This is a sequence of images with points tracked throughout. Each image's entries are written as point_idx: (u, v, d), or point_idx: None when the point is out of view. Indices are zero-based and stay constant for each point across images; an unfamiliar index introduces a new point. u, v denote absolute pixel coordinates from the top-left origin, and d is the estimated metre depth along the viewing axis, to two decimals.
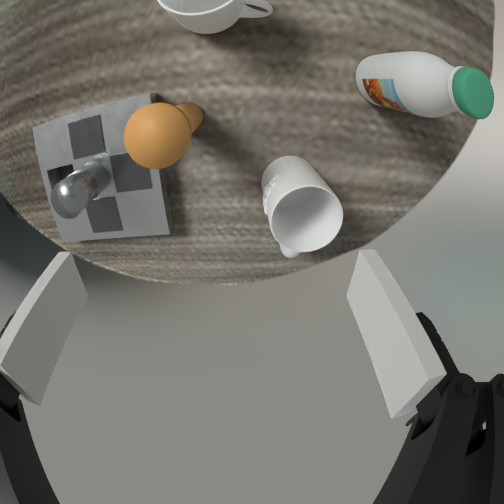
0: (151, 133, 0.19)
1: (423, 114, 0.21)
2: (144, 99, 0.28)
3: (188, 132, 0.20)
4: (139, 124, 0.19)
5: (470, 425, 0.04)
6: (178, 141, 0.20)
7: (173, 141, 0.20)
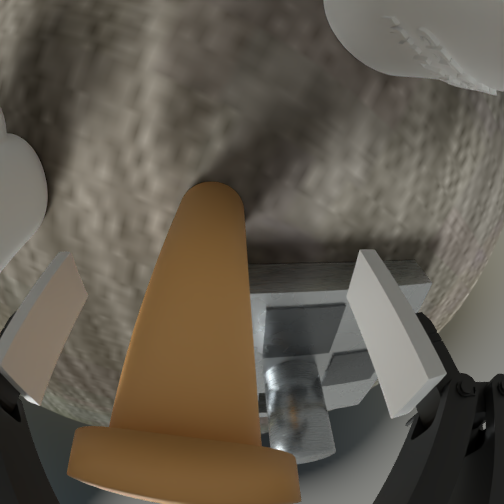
0: (173, 503, 0.04)
1: None
2: None
3: (147, 491, 0.03)
4: (150, 500, 0.05)
5: (470, 425, 0.04)
6: (196, 502, 0.03)
7: (197, 503, 0.03)
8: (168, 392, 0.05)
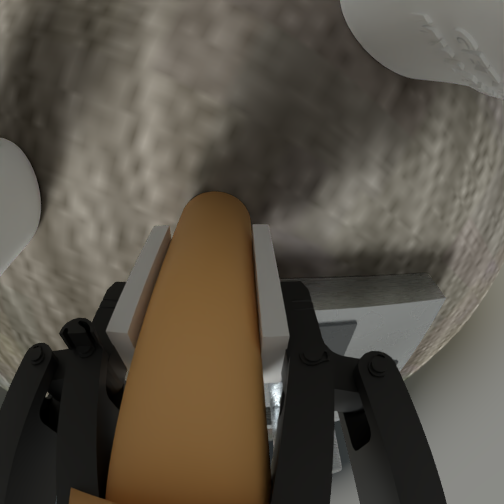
0: None
1: None
2: None
3: None
4: None
5: (331, 394, 0.06)
6: None
7: None
8: (171, 458, 0.04)
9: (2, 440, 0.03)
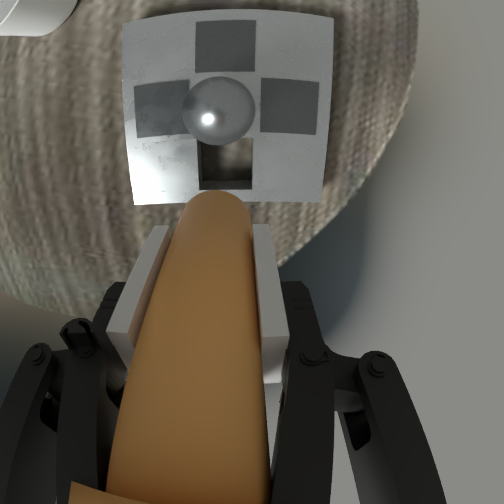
0: None
1: None
2: (128, 28, 0.17)
3: None
4: None
5: (331, 394, 0.06)
6: None
7: None
8: (171, 450, 0.04)
9: (2, 440, 0.03)
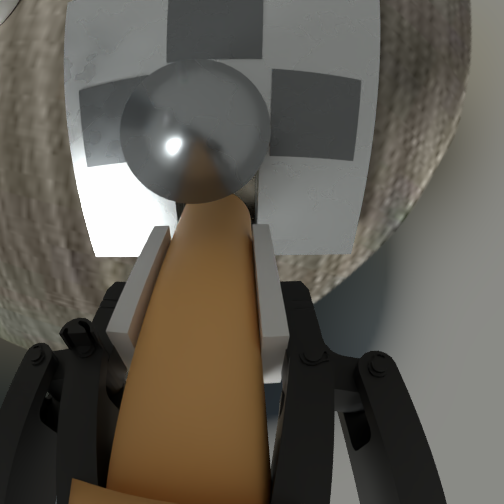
0: None
1: None
2: (74, 8, 0.09)
3: None
4: None
5: (331, 394, 0.06)
6: None
7: None
8: (171, 447, 0.04)
9: (2, 440, 0.03)
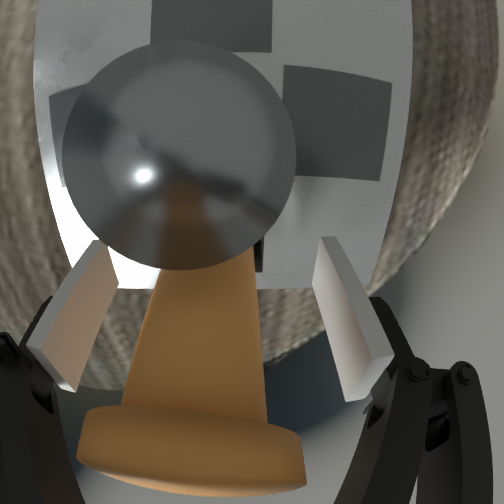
0: (180, 488, 0.05)
1: None
2: (47, 0, 0.06)
3: (159, 466, 0.03)
4: (156, 487, 0.05)
5: (427, 410, 0.05)
6: (206, 481, 0.04)
7: (206, 483, 0.04)
8: (180, 374, 0.06)
9: None
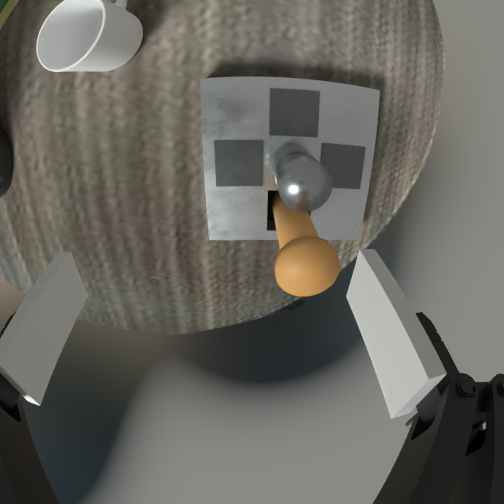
0: (304, 274, 0.23)
1: None
2: (206, 84, 0.25)
3: (312, 243, 0.22)
4: (292, 283, 0.24)
5: (470, 425, 0.04)
6: (318, 253, 0.22)
7: (317, 257, 0.22)
8: None
9: None
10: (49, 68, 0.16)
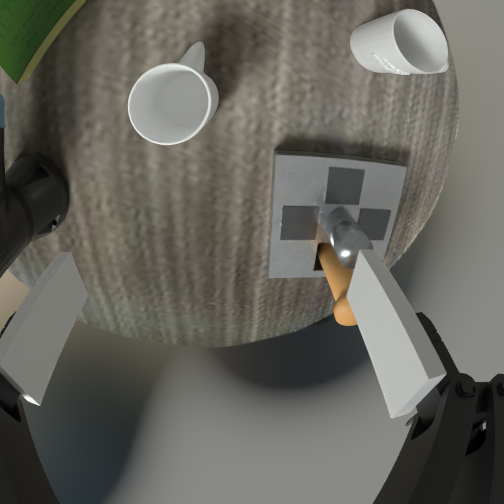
0: None
1: None
2: (280, 160, 0.34)
3: None
4: (344, 318, 0.34)
5: (470, 425, 0.04)
6: None
7: None
8: None
9: None
10: (148, 138, 0.25)
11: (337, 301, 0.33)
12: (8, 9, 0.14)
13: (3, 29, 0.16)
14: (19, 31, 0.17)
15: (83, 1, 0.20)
